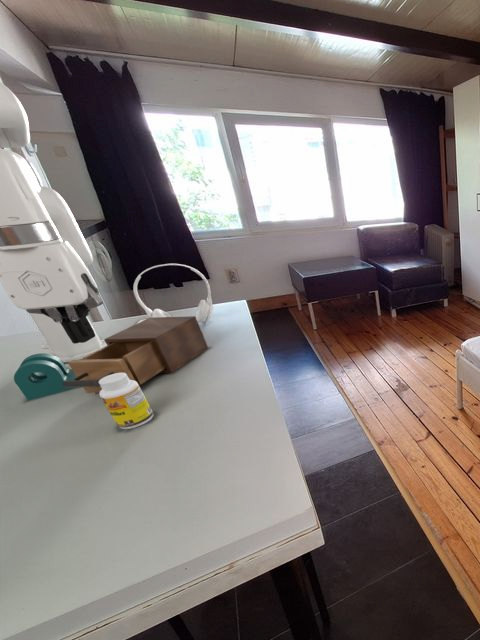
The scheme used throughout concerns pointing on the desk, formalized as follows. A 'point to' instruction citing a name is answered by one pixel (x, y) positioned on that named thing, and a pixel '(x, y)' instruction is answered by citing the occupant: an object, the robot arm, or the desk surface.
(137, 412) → the supplement bottle
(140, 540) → the desk surface
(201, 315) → the headphones
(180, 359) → the cabinet
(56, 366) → the bracket
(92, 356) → the drawer
